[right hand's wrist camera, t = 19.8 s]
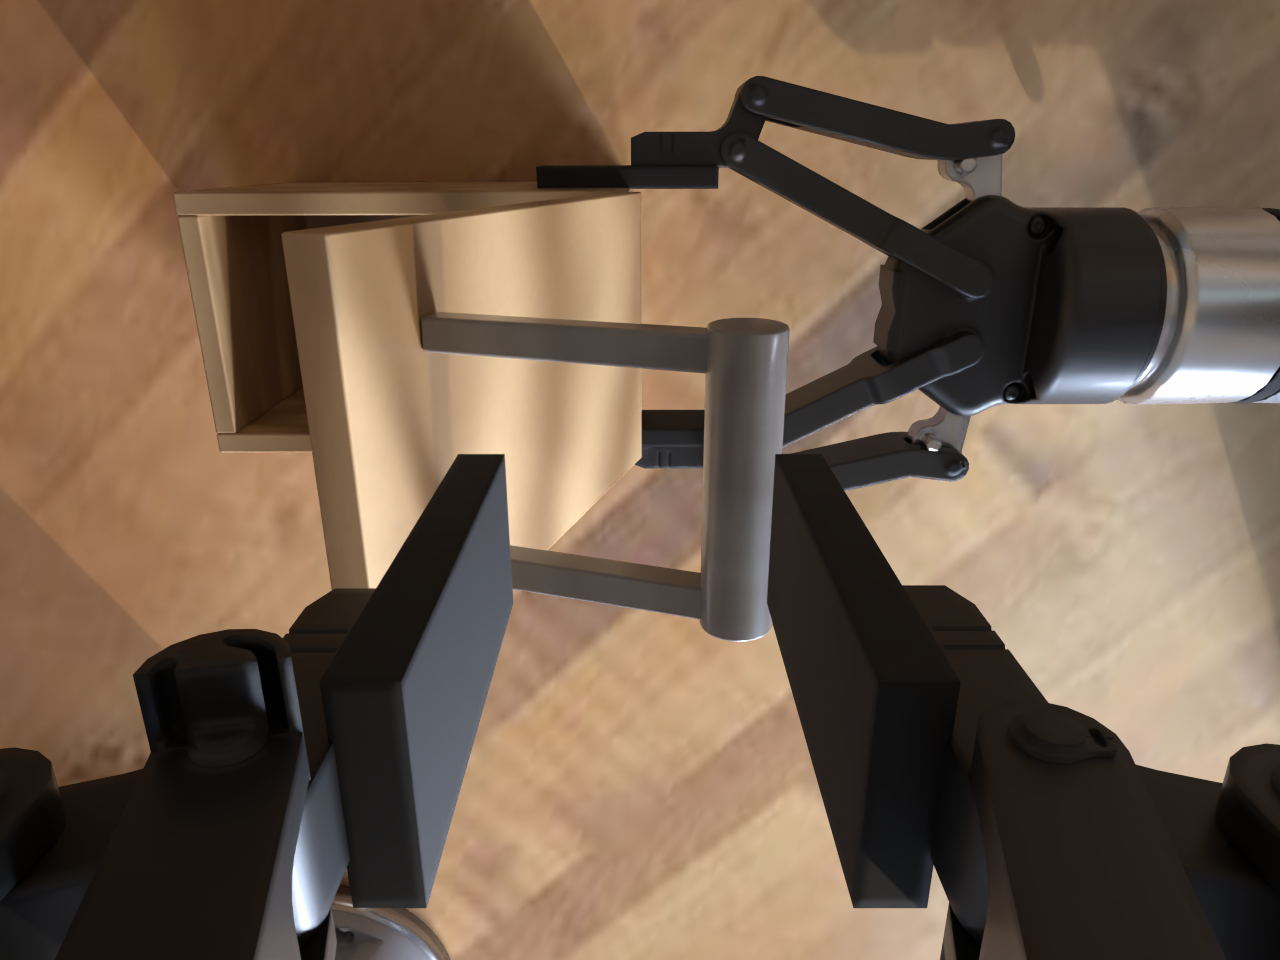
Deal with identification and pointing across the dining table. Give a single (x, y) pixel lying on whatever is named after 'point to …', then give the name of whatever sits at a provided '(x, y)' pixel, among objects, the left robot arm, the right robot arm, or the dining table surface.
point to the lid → (526, 395)
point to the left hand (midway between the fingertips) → (546, 308)
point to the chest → (259, 292)
